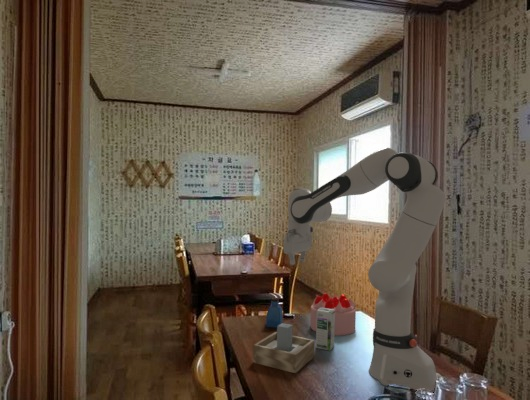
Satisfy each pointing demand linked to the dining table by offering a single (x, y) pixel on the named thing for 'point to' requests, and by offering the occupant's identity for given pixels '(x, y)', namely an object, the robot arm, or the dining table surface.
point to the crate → (283, 353)
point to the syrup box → (325, 328)
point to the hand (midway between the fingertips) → (297, 263)
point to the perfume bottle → (274, 314)
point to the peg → (284, 337)
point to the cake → (336, 313)
